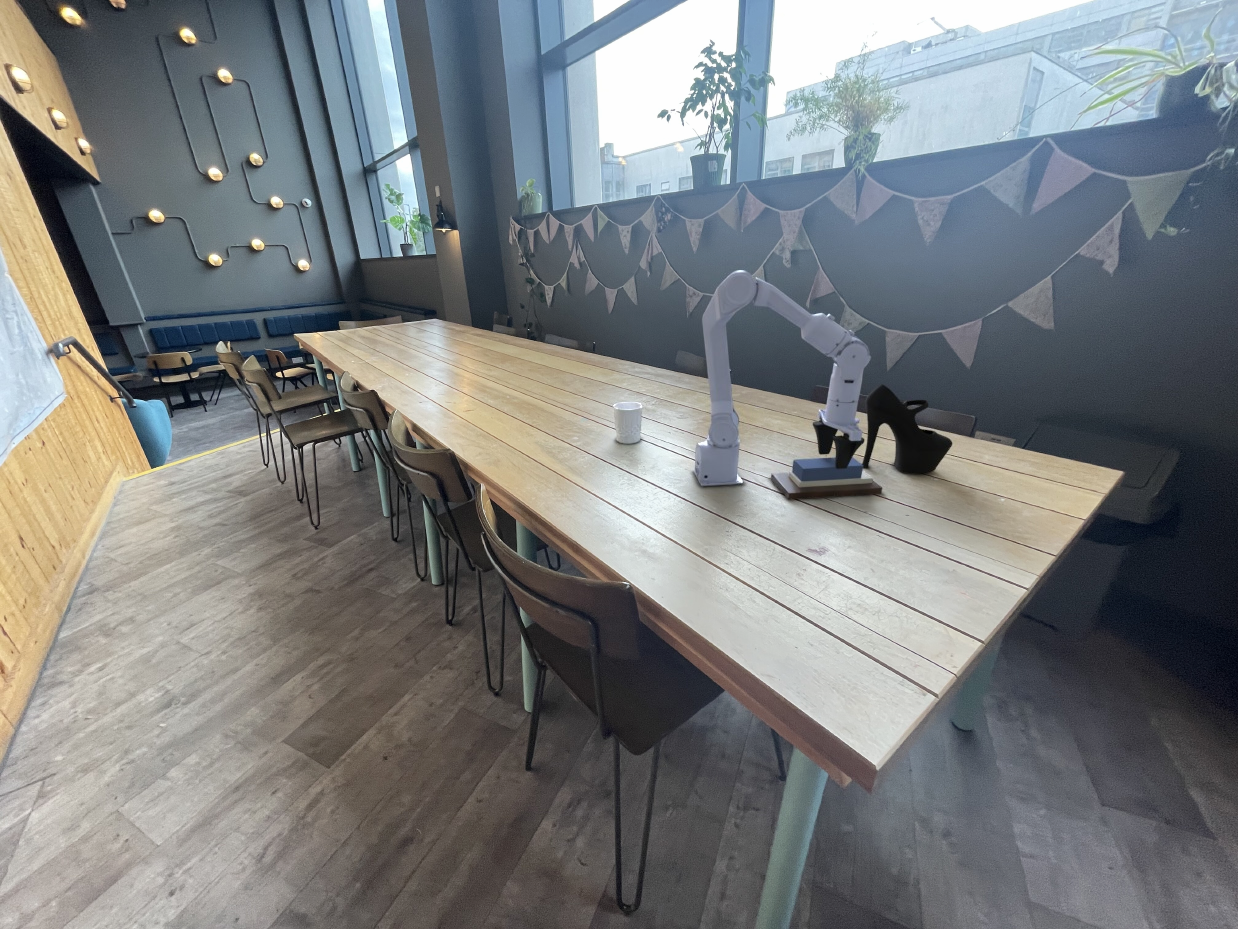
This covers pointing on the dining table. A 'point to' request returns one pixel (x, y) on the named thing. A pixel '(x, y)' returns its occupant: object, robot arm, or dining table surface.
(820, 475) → the blue and white eraser
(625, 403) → the white cup
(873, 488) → the shoe shelf
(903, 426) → the high-heeled shoe
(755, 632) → the dining table surface
